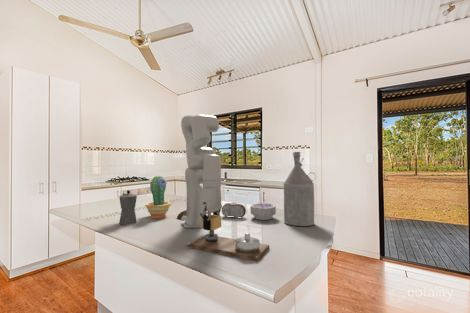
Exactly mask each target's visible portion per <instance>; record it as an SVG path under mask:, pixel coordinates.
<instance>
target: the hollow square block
mask: <svg viewBox="0 0 470 313" xmlns="http://www.w3.org/2000/svg"><path fill="white" fill-rule="evenodd" d="M206 215H207V217H208V214H206ZM210 220H211V230H213V231H214V232H215V231H216V230H217V229H219V228H221V227H222V216H221V215H220V216H218V215H213V214H211V216H210ZM201 230H204V229H203V219H202V217H201Z"/></svg>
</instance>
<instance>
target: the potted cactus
mask: <svg viewBox="0 0 470 313" xmlns="http://www.w3.org/2000/svg"><path fill="white" fill-rule="evenodd" d="M167 183H168V182H167V180H166V179H164V177H163V176H161V175H159V176H158V175H156V176H154V177H153V178H152V179H151V181H150V184H149V185H150V187H149V188H150V191H151V192H150V193H151V195H152V202H151V201H150V202H147V203H145V205H144V206H145V208H146V209H147V212H148V213H149V214H150V218H152V219H161V218H165V217H166V216H167V215H166V214H167V212H168V211H169V208H170V206H171V205H172V203H171V201H165V192H166V189H167Z"/></svg>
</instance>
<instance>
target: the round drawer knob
mask: <svg viewBox="0 0 470 313" xmlns="http://www.w3.org/2000/svg"><path fill="white" fill-rule="evenodd" d="M205 235H206V241H207V242H216V241H218V234H217V233H215V230H214V231H213V230H208V233H207V234H205Z"/></svg>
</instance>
